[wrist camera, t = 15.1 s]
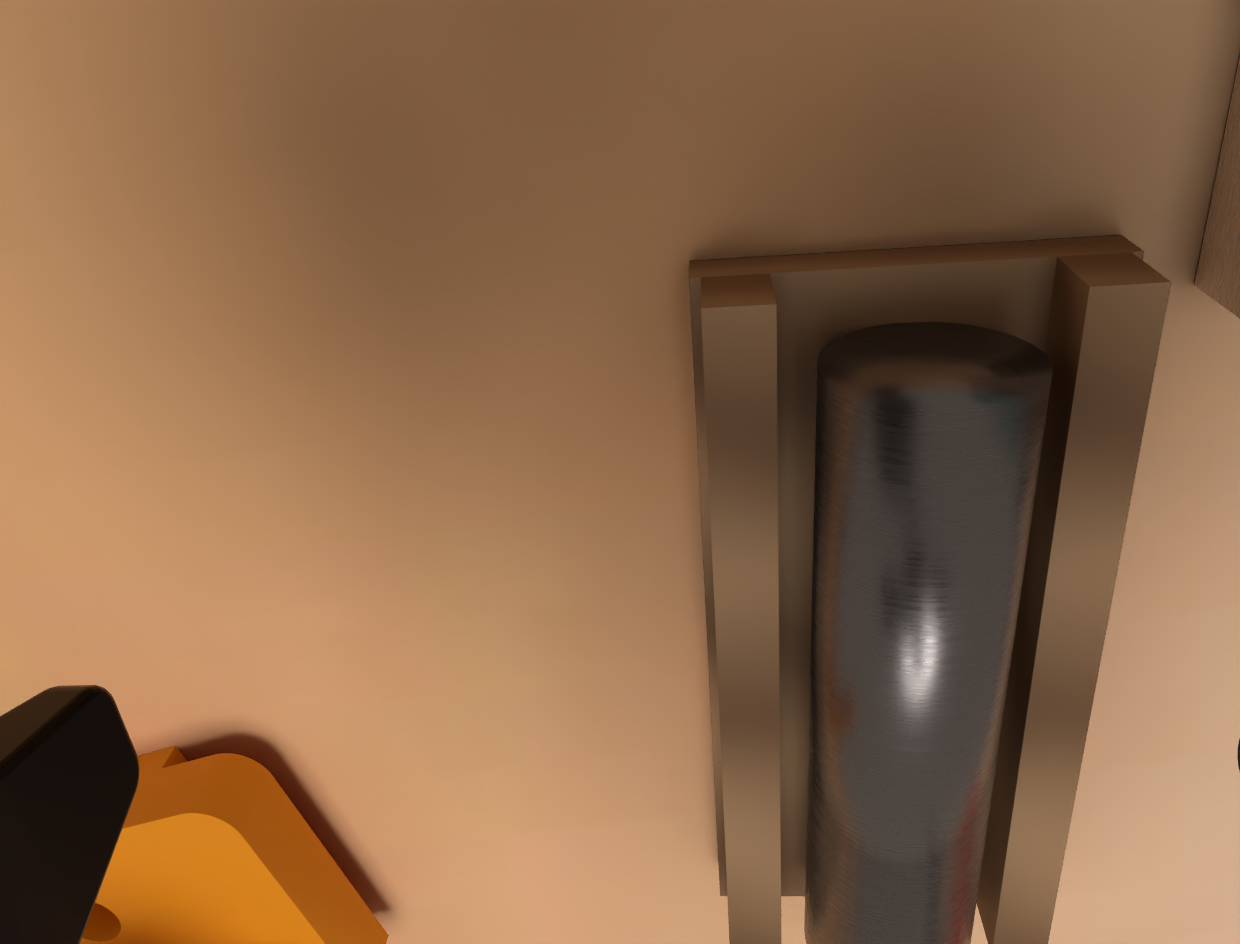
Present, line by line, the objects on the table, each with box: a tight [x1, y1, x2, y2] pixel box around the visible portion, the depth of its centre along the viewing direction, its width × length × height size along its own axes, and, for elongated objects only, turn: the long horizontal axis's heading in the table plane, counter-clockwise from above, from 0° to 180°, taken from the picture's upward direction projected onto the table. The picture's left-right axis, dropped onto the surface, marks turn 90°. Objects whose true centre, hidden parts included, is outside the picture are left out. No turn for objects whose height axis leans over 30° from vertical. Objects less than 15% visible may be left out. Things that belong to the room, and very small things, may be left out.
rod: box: [804, 322, 1053, 944], centre depth 19 cm, size 14×4×4 cm, turn 4°
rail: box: [689, 235, 1171, 944], centre depth 21 cm, size 16×8×3 cm, turn 5°
